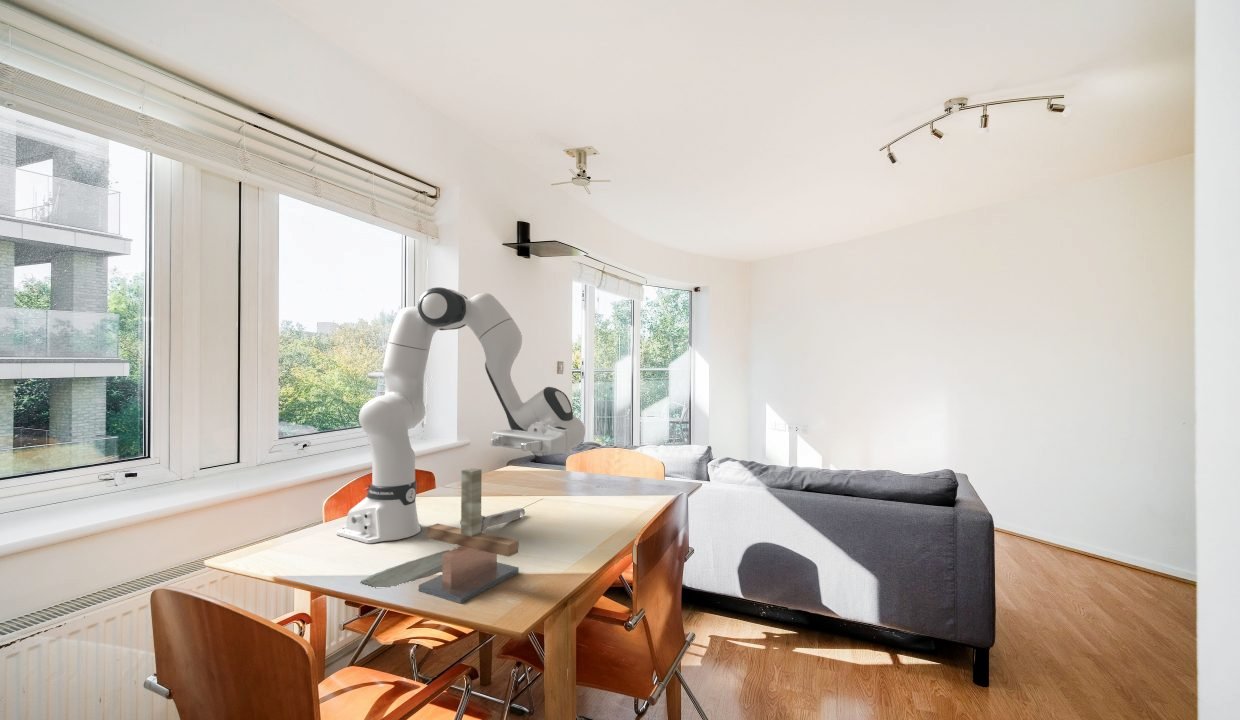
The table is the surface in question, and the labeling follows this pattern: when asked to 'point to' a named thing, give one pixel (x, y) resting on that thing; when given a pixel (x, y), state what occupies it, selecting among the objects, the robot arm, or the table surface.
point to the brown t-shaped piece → (472, 522)
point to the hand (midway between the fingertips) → (507, 444)
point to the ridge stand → (467, 574)
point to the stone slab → (407, 571)
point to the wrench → (501, 518)
